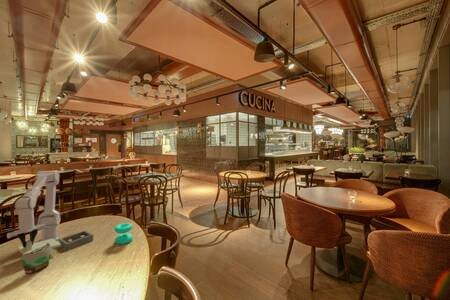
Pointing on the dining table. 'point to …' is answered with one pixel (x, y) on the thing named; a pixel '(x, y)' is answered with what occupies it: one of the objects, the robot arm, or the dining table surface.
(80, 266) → the dining table surface
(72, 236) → the tub
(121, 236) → the donuts
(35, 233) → the robot arm
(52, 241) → the lid
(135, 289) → the dining table surface
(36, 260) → the food container
